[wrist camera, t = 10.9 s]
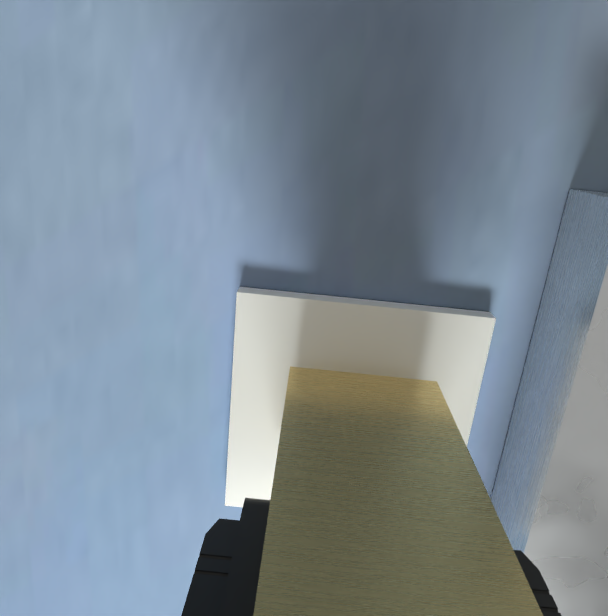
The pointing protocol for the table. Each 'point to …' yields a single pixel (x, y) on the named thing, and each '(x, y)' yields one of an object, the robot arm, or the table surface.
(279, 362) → the pad
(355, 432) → the brass peg
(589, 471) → the socket block
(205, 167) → the table surface
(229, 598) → the robot arm
